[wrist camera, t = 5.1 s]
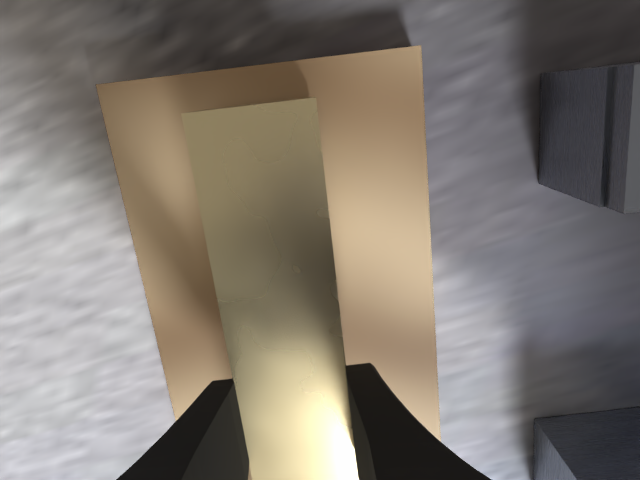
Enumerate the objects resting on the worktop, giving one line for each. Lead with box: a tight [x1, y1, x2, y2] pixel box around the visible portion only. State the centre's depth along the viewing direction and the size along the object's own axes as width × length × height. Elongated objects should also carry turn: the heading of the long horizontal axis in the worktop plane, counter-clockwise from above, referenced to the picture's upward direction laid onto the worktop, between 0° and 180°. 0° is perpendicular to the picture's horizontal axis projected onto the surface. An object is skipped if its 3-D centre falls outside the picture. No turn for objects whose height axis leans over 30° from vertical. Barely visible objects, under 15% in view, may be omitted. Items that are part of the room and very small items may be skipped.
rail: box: [181, 96, 359, 480], centre depth 12 cm, size 14×3×3 cm, turn 7°
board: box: [96, 45, 441, 480], centre depth 14 cm, size 16×8×1 cm, turn 7°
